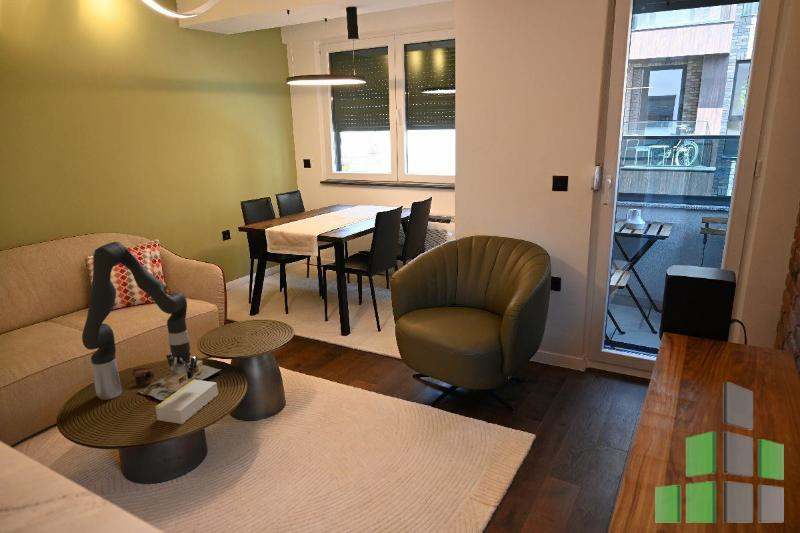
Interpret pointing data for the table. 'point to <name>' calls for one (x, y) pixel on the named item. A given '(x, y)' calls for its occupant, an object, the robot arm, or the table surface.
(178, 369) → the grey block
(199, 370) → the tan long block
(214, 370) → the stone relief
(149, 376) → the pottery mug
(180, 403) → the white rectangular box
